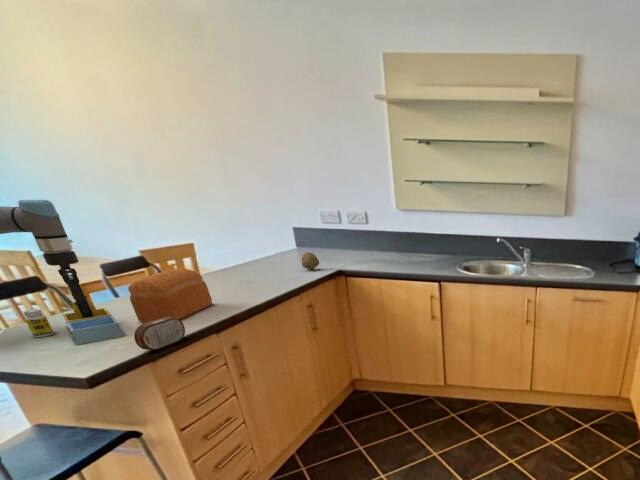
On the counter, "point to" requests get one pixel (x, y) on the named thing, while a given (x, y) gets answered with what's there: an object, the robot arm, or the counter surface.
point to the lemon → (80, 312)
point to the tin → (159, 333)
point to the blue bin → (95, 329)
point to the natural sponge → (309, 261)
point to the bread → (169, 295)
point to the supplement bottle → (38, 323)
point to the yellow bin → (73, 318)
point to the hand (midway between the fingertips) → (89, 319)
